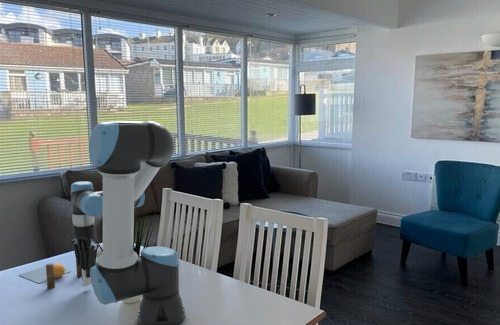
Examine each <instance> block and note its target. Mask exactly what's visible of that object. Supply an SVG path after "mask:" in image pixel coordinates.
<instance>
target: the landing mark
mask: <svg viewBox="0 0 500 325" xmlns="http://www.w3.org/2000/svg"><path fill="white" fill-rule="evenodd" d="M71 272H72V270H69V269H67V268H65V272H64V274H63V275H66V274H68V273H71ZM18 276H19V277H22V278H24V279H26V280H28V281H31V282H33V283H36V284H41V283H44V282H47V275H46V265H44V266H42V267H39V268H36V269H33V270H30V271H27V272H24V273H22V274H19V275H18Z"/></svg>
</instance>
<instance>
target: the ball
mask: <svg viewBox="0 0 500 325" xmlns="http://www.w3.org/2000/svg"><path fill="white" fill-rule="evenodd" d="M65 269H66V268H65V266H64V264H62V263H55V264H54V279H57V278H58V279H59V278H61V277H63V275H65V274H64V272H65Z"/></svg>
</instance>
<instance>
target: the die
mask: <svg viewBox="0 0 500 325" xmlns="http://www.w3.org/2000/svg"><path fill="white" fill-rule="evenodd" d="M99 245H100V247H101V248H102V249H103V243H100V244H99ZM100 247H98V249H97V256H96V259H97V258H98V256H99V255H100V254H101V253H102V251H101V249H100Z"/></svg>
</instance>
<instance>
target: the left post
mask: <svg viewBox="0 0 500 325" xmlns="http://www.w3.org/2000/svg"><path fill="white" fill-rule="evenodd" d="M54 265H55V264H54V263H52V262H51V263H47V264H46V265H45V266H46V275H47V281H46V288H47V289H48V290H53V289H54V288H55V287H56V285H55V284H56V283H55V279H56V278H54Z"/></svg>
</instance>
